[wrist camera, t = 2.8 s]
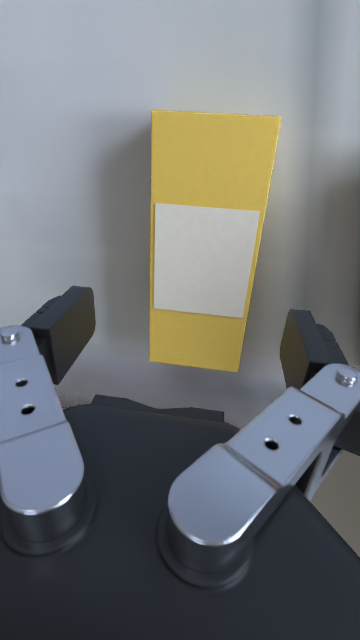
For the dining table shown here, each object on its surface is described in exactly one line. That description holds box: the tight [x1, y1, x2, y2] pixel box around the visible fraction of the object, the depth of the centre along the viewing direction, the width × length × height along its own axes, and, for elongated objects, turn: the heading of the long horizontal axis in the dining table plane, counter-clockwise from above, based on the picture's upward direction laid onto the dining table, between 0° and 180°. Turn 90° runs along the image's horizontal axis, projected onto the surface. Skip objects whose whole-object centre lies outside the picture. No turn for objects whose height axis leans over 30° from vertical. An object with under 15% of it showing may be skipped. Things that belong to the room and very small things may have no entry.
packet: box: [149, 110, 282, 372], centre depth 21 cm, size 15×6×4 cm, turn 177°
